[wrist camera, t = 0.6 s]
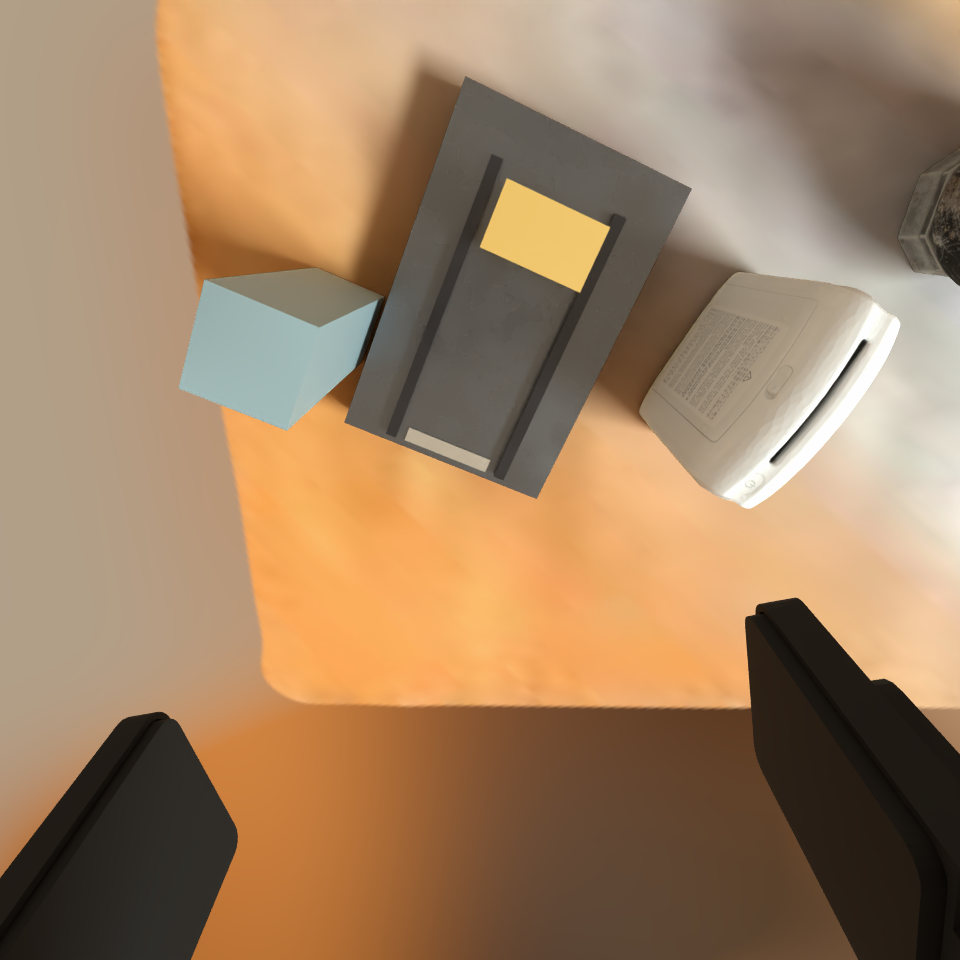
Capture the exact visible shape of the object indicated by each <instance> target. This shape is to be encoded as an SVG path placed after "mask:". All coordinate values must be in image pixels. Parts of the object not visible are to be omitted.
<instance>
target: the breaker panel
mask: <svg viewBox="0 0 960 960" xmlns="http://www.w3.org/2000/svg"><path fill="white" fill-rule="evenodd" d="M507 178H508V179H510V180H512V181H514V182H516V183H518V184H520V185H522V186H525V187H527V188H529V189H531V190H533V191H535V192H537V193H539V194H541V195H543V196H546V197H548V198H550V199H552V200H554V201H556V202H558V203H560V204H562V205H564V206H567V207H569V208H571V209H573V210H575V211H577V212H579V213H581V214H583V215H585V216H588V217H590V218H592V219H594V220H596V221H598V222H600V223H602V224H604V225H606V226H609V227H610V229H609V231H608V233H607V236H606V238H605V240H604V242H603V244H602V246H601V248H600V251H599V253H598V255H597V257H596V259H595V261H594V264H593V266H592V268H591V270H590V272H589V274H588V276H587V279H586V281H585V283H584V285H583V287H582V289H581V292H580V293H579V292H577V291H575V290H573V289H571V288H568V287H566V286H564V285H562V284H560V283H557V282H555V281H553V280H551V279H549V278H546V277H544V276H542V275H540V274H538V273H535V272H533V271H531V270H529V269H527V268H524V267H522V266H520V265H518V264H516V263H513V262H511V261H509V260H507V259H505V258H502V257H500V256H498V255H496V254H494V253H491V252H489V251H487V250H485V249H483V248H481V247H480V245H481V243H482V240H483V238H484V235H485V232H486V230H487V227H488V225H489V222H490V220H491V217H492V215H493V212H494V210H495V207H496V204H497V202H498V199H499V197H500V194H501V192H502V189H503V187H504V184H505V182H506V179H507ZM690 191H691V188H689V187H687V186H685V185H683V184H681V183H679V182H677V181H675V180H673V179H671V178H669V177H667V176H665V175H663V174H661V173H659V172H657V171H655V170H653V169H651V168H649V167H647V166H645V165H643V164H641V163H639V162H637V161H635V160H633V159H631V158H629V157H627V156H625V155H623V154H621V153H619V152H617V151H615V150H613V149H611V148H609V147H607V146H605V145H603V144H601V143H599V142H597V141H595V140H593V139H591V138H589V137H587V136H585V135H583V134H581V133H579V132H577V131H575V130H573V129H571V128H569V127H567V126H565V125H562V124H560V123H558V122H556V121H554V120H552V119H550V118H548V117H546V116H544V115H542V114H540V113H538V112H536V111H534V110H532V109H530V108H528V107H526V106H524V105H522V104H520V103H518V102H516V101H514V100H512V99H510V98H508V97H506V96H504V95H502V94H500V93H498V92H496V91H494V90H492V89H490V88H488V87H486V86H484V85H482V84H480V83H478V82H476V81H474V80H472V79H470V78H468V77H466V76H465V79H464V82H463V85H462V88H461V91H460V94H459V96H458V99H457V102H456V105H455V108H454V111H453V114H452V116H451V119H450V122H449V125H448V128H447V131H446V134H445V136H444V139H443V142H442V145H441V148H440V151H439V154H438V156H437V159H436V162H435V165H434V168H433V171H432V174H431V176H430V179H429V182H428V185H427V188H426V191H425V194H424V196H423V199H422V202H421V205H420V208H419V211H418V214H417V216H416V219H415V222H414V225H413V228H412V231H411V234H410V236H409V239H408V242H407V245H406V248H405V251H404V254H403V256H402V259H401V262H400V265H399V268H398V271H397V274H396V276H395V279H394V282H393V285H392V288H391V291H390V294H389V296H388V299H387V302H386V305H385V308H384V311H383V314H382V316H381V319H380V322H379V325H378V328H377V331H376V334H375V336H374V339H373V342H372V345H371V348H370V351H369V354H368V356H367V359H366V362H365V365H364V368H363V371H362V374H361V376H360V379H359V382H358V385H357V388H356V391H355V394H354V396H353V399H352V402H351V405H350V408H349V411H348V414H347V416H346V419H345V423H347V424H350V425H352V426H355V427H357V428H360V429H362V430H365V431H367V432H370V433H372V434H375V435H377V436H380V437H382V438H385V439H387V440H390V441H392V442H395V443H397V444H400V445H402V446H405V447H407V448H410V449H412V450H415V451H417V452H420V453H422V454H425V455H427V456H430V457H432V458H435V459H438V460H440V461H443V462H445V463H448V464H450V465H453V466H455V467H458V468H460V469H463V470H465V471H468V472H470V473H473V474H475V475H478V476H480V477H483V478H485V479H488V480H490V481H493V482H495V483H498V484H500V485H503V486H505V487H508V488H510V489H513V490H515V491H518V492H520V493H523V494H525V495H528V496H531V497H533V498H536V499H537V497H538V495H539V493H540V491H541V489H542V487H543V485H544V483H545V481H546V479H547V477H548V475H549V473H550V471H551V469H552V467H553V465H554V463H555V461H556V459H557V457H558V455H559V453H560V451H561V449H562V447H563V445H564V443H565V441H566V439H567V437H568V435H569V433H570V431H571V429H572V427H573V425H574V423H575V421H576V419H577V417H578V415H579V413H580V411H581V409H582V407H583V405H584V403H585V401H586V399H587V397H588V395H589V393H590V391H591V389H592V387H593V385H594V383H595V381H596V379H597V377H598V375H599V373H600V371H601V369H602V367H603V365H604V363H605V361H606V359H607V357H608V355H609V353H610V351H611V349H612V347H613V345H614V343H615V341H616V339H617V337H618V335H619V333H620V331H621V329H622V327H623V325H624V323H625V321H626V319H627V317H628V315H629V313H630V311H631V309H632V307H633V305H634V303H635V301H636V299H637V297H638V295H639V293H640V291H641V289H642V287H643V285H644V283H645V281H646V279H647V277H648V275H649V273H650V271H651V269H652V267H653V265H654V263H655V261H656V259H657V257H658V255H659V253H660V251H661V249H662V247H663V245H664V243H665V241H666V239H667V237H668V235H669V233H670V231H671V229H672V227H673V225H674V223H675V221H676V219H677V217H678V215H679V213H680V211H681V209H682V207H683V205H684V203H685V201H686V199H687V197H688V195H689V193H690Z"/></svg>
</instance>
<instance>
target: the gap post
mask: <svg viewBox="0 0 960 960" xmlns="http://www.w3.org/2000/svg"><path fill="white" fill-rule="evenodd" d="M383 300H384V296H382V295H379V294H377V293H375V292H373V291H370V290H368V289H366V288H363V287H361V286H359V285H356V284H354V283H352V282H349V281H347V280H345V279H342V278H340V277H338V276H336V275H333V274H331V273H329V272H326V271H324V270H322V269H319V268H317V267H315V268H306V269H297V270H287V271H278V272H269V273H260V274H251V275H242V276H232V277H223V278H214V279H205V280H204V284H203V288H202V292H201V296H200V301H199V305H198V309H197V313H196V318H195V322H194V326H193V330H192V335H191V339H190V343H189V347H188V352H187V356H186V360H185V364H184V369H183V372H182V377H181V381H180V385H179V389H182V390H184V391H187V392H189V393H192V394H194V395H197V396H199V397H202V398H205V399H207V400H210V401H212V402H215V403H217V404H220V405H222V406H225V407H228V408H230V409H233V410H235V411H238V412H240V413H243V414H246V415H248V416H251V417H253V418H256V419H258V420H261V421H263V422H266V423H269V424H271V425H274V426H276V427H279V428H281V429H284V430H286V431H287V430H288V429H289V428H290V427H291V426H293V425H294V424H295V423H296V422H297V421H298V420H299V419H300V418H301V417H302V416H303V415H305V414H306V413H307V412H308V411H309V410H310V409H311V408H312V407H313V406H314V405H315V404H317V403H318V402H319V401H320V400H321V399H322V398H323V397H324V396H325V395H326V394H327V393H329V392H330V391H331V390H332V389H333V388H334V387H335V386H336V385H337V384H338V383H339V382H341V381H342V380H343V379H344V378H345V377H346V376H347V375H348V374H349V373H350V372H351V371H353V370H354V369H355V368H356V367H357V366H358V365H359V364H360V363H361V362H362V360H363V357H364V354H365V351H366V348H367V346H368V343H369V340H370V337H371V334H372V331H373V328H374V325H375V323H376V320H377V317H378V314H379V311H380V308H381V305H382V302H383Z"/></svg>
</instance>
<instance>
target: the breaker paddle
mask: <svg viewBox="0 0 960 960" xmlns="http://www.w3.org/2000/svg"><path fill="white" fill-rule="evenodd" d="M609 229H610V227H609V226H606V225H604V224H602V223H600V222H598V221H596V220H594V219H592V218H590V217H588V216H585V215H583V214H581V213H579V212H577V211H575V210H573V209H571V208H569V207H567V206H564V205H562V204H560V203H558V202H556V201H554V200H552V199H550V198H548V197H546V196H543V195H541V194H539V193H537V192H535V191H533V190H531V189H529V188H527V187H525V186H522V185H520V184H518V183H516V182H514V181H512V180H510V179H508V178H507V179H506V182H505V184H504V187H503V189H502V192H501V194H500V197H499V199H498V202H497V204H496V207H495V210H494V212H493V215H492V217H491V220H490V222H489V225H488V227H487V230H486V232H485V235H484V238H483V240H482V243H481V245H480V247H481V248H483V249H485V250H487V251H489V252H491V253H494V254H496V255H498V256H500V257H502V258H505V259H507V260H509V261H511V262H513V263H516V264H518V265H520V266H522V267H524V268H527V269H529V270H531V271H533V272H535V273H538V274H540V275H542V276H544V277H546V278H549V279H551V280H553V281H555V282H557V283H560V284H562V285H564V286H566V287H568V288H571V289H573V290H575V291H577V292H579V293H580V292H581V289H582V287H583V285H584V283H585V281H586V279H587V276H588V274H589V272H590V270H591V268H592V266H593V264H594V261H595V259H596V257H597V255H598V253H599V251H600V248H601V246H602V244H603V242H604V240H605V238H606V236H607V233H608V231H609Z"/></svg>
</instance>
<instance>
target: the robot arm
mask: <svg viewBox="0 0 960 960" xmlns="http://www.w3.org/2000/svg"><path fill="white" fill-rule="evenodd" d="M745 630H746V643H747V656H748V670H749V683H750V696H751V710H752V723H753V736H754V747H755V752H756V756H757V759H758V763H759V765H760V768H761V770H762V772H763V774H764V776H765V778H766V780H767V782H768V784H769V786H770V788H771V790H772V792H773V794H774V796H775V798H776V800H777V802H778V804H779V806H780V807H781V810H782V811H783V813H784V815H785V817H786V819H787V821H788V823H789V825H790V827H791V829H792V831H793V833H794V835H795V837H796V839H797V841H798V843H799V845H800V847H801V849H802V850H803V853H804V855H805V856H806V858H807V860H808V862H809V864H810V866H811V868H812V870H813V872H814V874H815V876H816V878H817V880H818V882H819V884H820V886H821V888H822V889H823V892H824V893H825V896H826V898H827V899H828V901H829V903H830V905H831V907H832V909H833V911H834V913H835V915H836V917H837V919H838V921H839V923H840V925H841V927H842V929H843V931H844V933H845V935H846V936H847V938H848V941H849V942H850V944H851V946H852V948H853V950H854V952H855V954H856V956H857V958H858V960H960V754H959V753H958V752H957V751H956V750H955V749H954V747H953V746H952V745H951V744H950V743H949V742H948V741H947V740H946V739H945V738H944V736H943V735H942V734H941V733H940V732H939V731H938V730H937V729H936V728H935V727H934V726H933V725H932V723H931V722H930V721H929V720H928V719H927V718H926V717H925V716H924V715H923V714H922V712H921V711H920V710H919V709H918V708H917V707H916V706H915V705H914V704H913V702H912V701H911V700H910V699H909V698H908V697H907V696H906V695H905V694H904V693H903V691H901V690H900V689H899V688H898V687H897V686H896V685H895V684H894V683H892V682H890V681H888V680H886V679H879V680H873V681H870V679H869V678H868V677H867V676H866V675H865V674H864V672H863V671H862V670H861V669H860V668H859V667H858V665H857V664H856V663H855V662H854V661H853V660H852V658H851V657H850V656H849V655H848V654H847V653H846V651H845V650H844V649H843V648H842V647H841V646H840V645H839V643H838V642H837V641H836V640H835V639H834V638H833V636H832V635H831V634H830V633H829V632H828V631H827V629H826V628H825V627H824V626H823V625H822V624H821V622H820V621H819V620H818V619H817V618H816V617H815V616H814V614H813V613H812V612H811V611H810V610H809V609H808V607H807V606H806V605H805V604H804V603H803V602H802V601H801V600H800V599H798V598H791V599H785V600H779V601H774V602H768V603H763V604H759V605H757V607H756V615H752V616H747V617H746V619H745ZM237 838H238V835H237V829H236V826H235V824H234V822H233V821H232V819H231V817H230V815H229V813H228V811H227V810H226V808H225V806H224V804H223V802H222V801H221V799H220V798H219V796H218V794H217V792H216V790H215V788H214V786H213V785H212V783H211V781H210V779H209V777H208V775H207V774H206V772H205V770H204V768H203V767H202V765H201V763H200V761H199V759H198V757H197V756H196V754H195V752H194V750H193V748H192V747H191V745H190V743H189V741H188V739H187V738H186V736H185V734H184V732H183V730H182V728H181V727H180V725H179V724H178V722H177V721H176V720H174V719H170V718H169V716H168V715H167V714H165V713H163V712H155V713H149V714H143V715H138V716H132V717H128V718H126V719H123V720H122V721H121V722H120V723H119V724H118V725H117V726H116V727H115V729H114V730H113V731H112V733H111V734H110V735H109V737H108V738H107V739H106V741H105V742H104V743H103V744H102V746H101V747H100V748H99V750H98V751H97V752H96V754H95V755H94V756H93V758H92V759H91V760H90V761H89V763H88V764H87V765H86V767H85V768H84V769H83V771H82V772H81V773H80V774H79V776H78V777H77V778H76V780H75V781H74V782H73V784H72V785H71V786H70V788H69V789H68V790H67V791H66V793H65V794H64V795H63V797H62V798H61V799H60V801H59V802H58V803H57V805H56V806H55V807H54V809H53V810H52V811H51V813H50V814H49V815H48V816H47V818H46V819H45V820H44V822H43V823H42V824H41V825H40V827H39V828H38V829H37V831H36V832H35V833H34V835H33V836H32V837H31V839H30V840H29V841H28V843H27V844H26V845H25V846H24V848H23V849H22V850H21V852H20V853H19V854H18V855H17V857H16V858H15V859H14V861H13V862H12V863H11V865H10V866H9V867H8V869H7V870H6V871H5V872H4V874H3V875H2V876H1V878H0V960H191V958H192V955H193V953H194V950H195V948H196V946H197V943H198V941H199V938H200V936H201V934H202V931H203V928H204V926H205V924H206V921H207V919H208V917H209V914H210V912H211V909H212V907H213V905H214V902H215V900H216V897H217V895H218V892H219V890H220V888H221V885H222V883H223V880H224V878H225V876H226V873H227V871H228V868H229V866H230V863H231V861H232V859H233V856H234V854H235V851H236V848H237V842H238V839H237Z"/></svg>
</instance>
